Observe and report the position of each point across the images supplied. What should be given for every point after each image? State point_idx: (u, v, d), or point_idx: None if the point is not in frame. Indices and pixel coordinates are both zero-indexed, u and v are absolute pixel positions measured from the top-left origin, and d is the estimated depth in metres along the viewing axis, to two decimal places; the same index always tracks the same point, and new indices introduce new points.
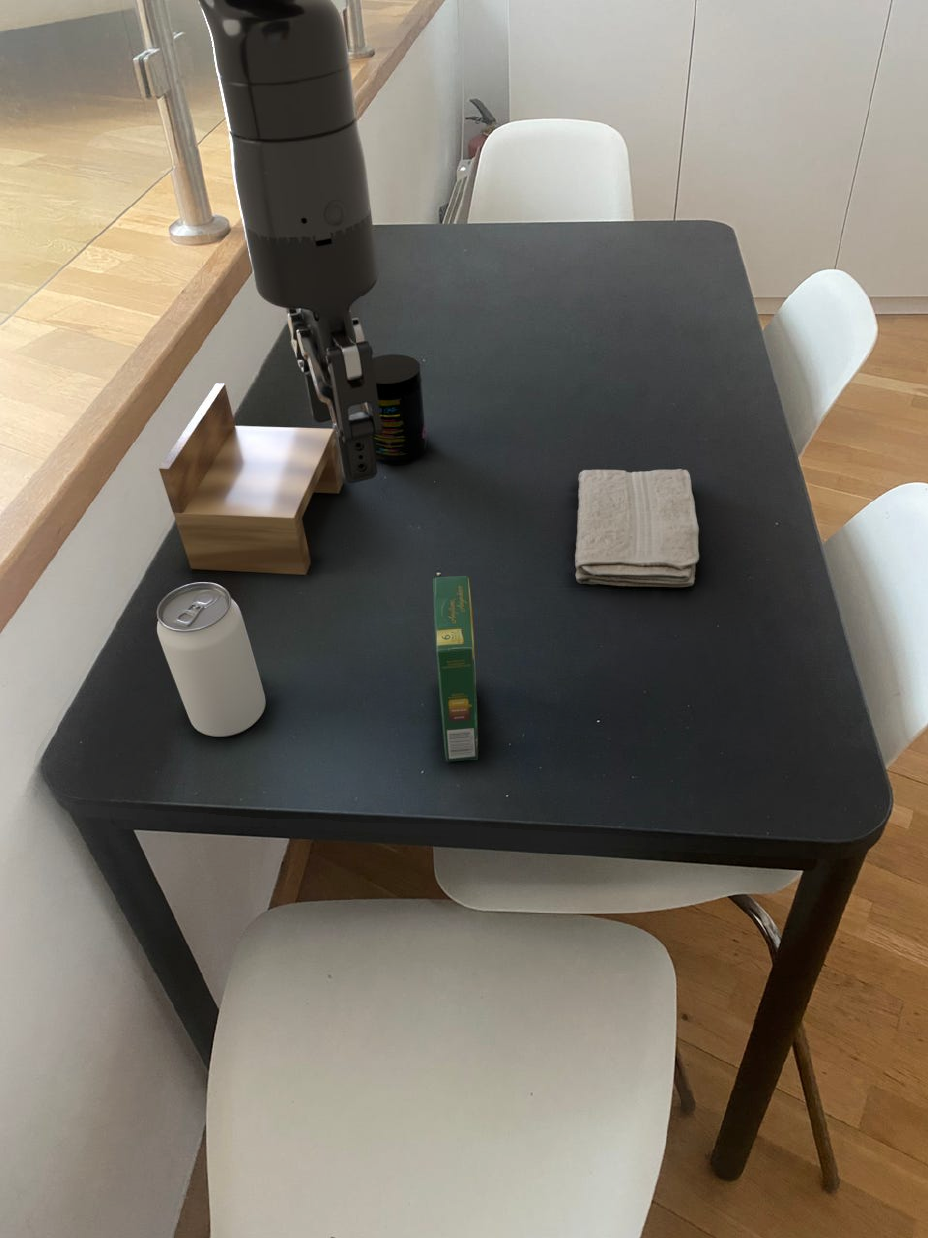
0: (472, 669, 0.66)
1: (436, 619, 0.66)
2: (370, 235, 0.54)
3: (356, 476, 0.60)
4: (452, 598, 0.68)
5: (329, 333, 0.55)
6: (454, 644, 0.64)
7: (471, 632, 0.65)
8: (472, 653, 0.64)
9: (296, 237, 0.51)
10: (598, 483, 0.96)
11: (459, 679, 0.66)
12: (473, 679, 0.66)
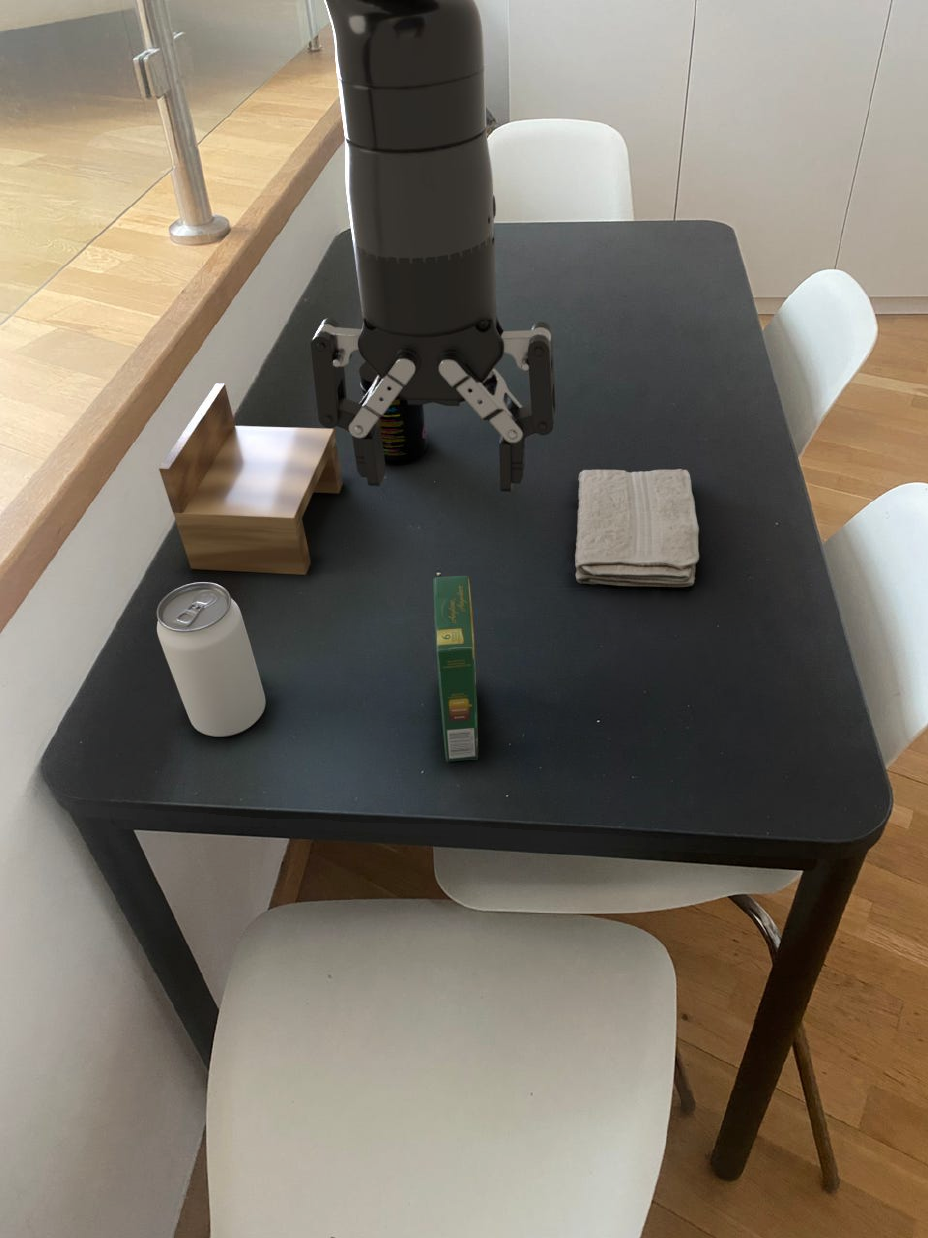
0: (472, 669, 0.66)
1: (436, 619, 0.66)
2: None
3: (521, 478, 0.58)
4: (453, 598, 0.68)
5: (500, 336, 0.51)
6: (455, 644, 0.64)
7: (471, 632, 0.65)
8: (472, 653, 0.64)
9: (484, 241, 0.47)
10: (598, 483, 0.96)
11: (459, 679, 0.66)
12: (473, 679, 0.66)
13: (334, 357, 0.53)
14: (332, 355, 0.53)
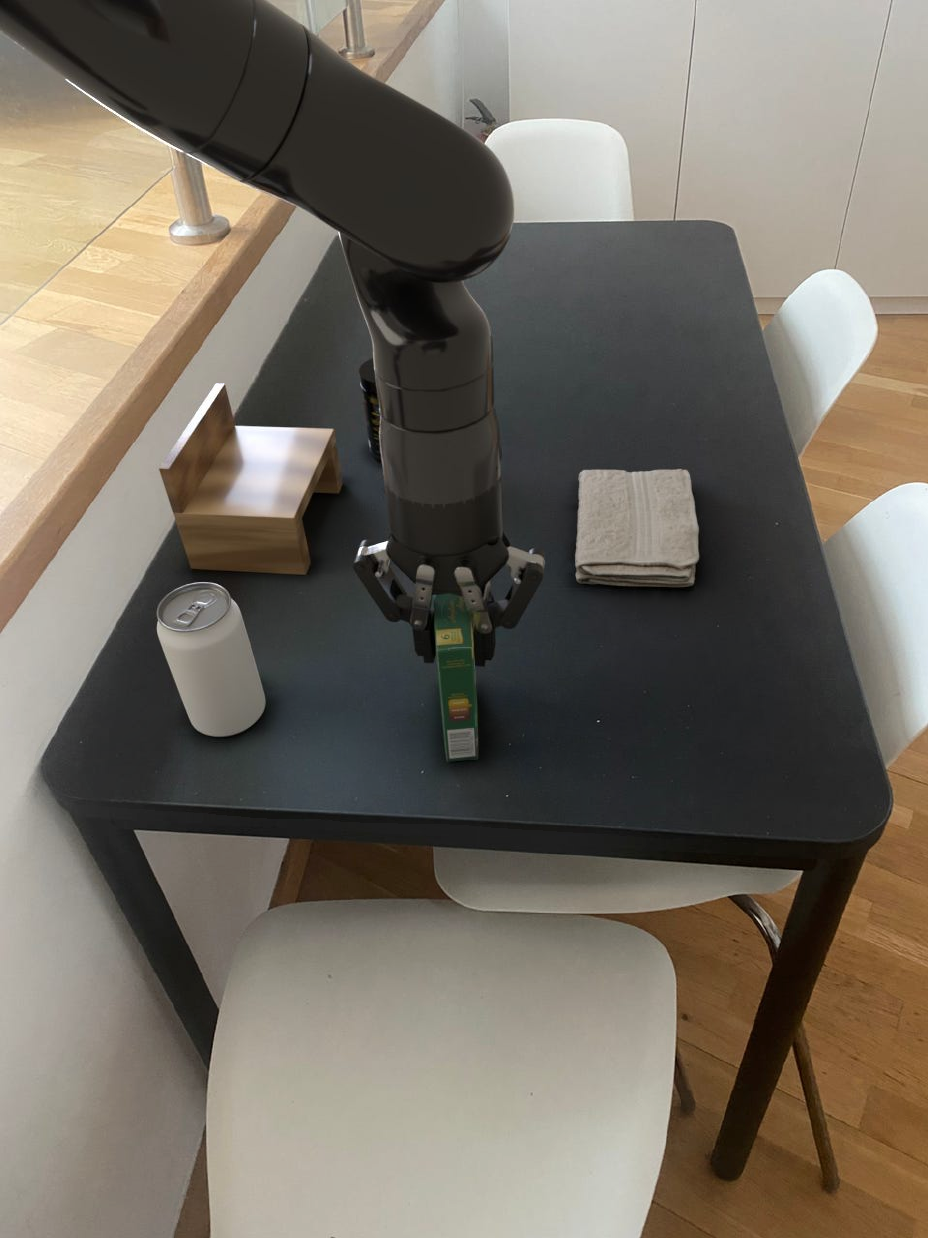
0: (472, 669, 0.66)
1: (436, 619, 0.66)
2: None
3: (492, 656, 0.69)
4: (452, 598, 0.68)
5: (508, 553, 0.62)
6: (454, 644, 0.64)
7: (471, 632, 0.65)
8: (472, 653, 0.64)
9: (493, 485, 0.57)
10: (598, 482, 0.96)
11: (459, 679, 0.66)
12: (473, 679, 0.66)
13: (375, 571, 0.64)
14: (372, 570, 0.64)
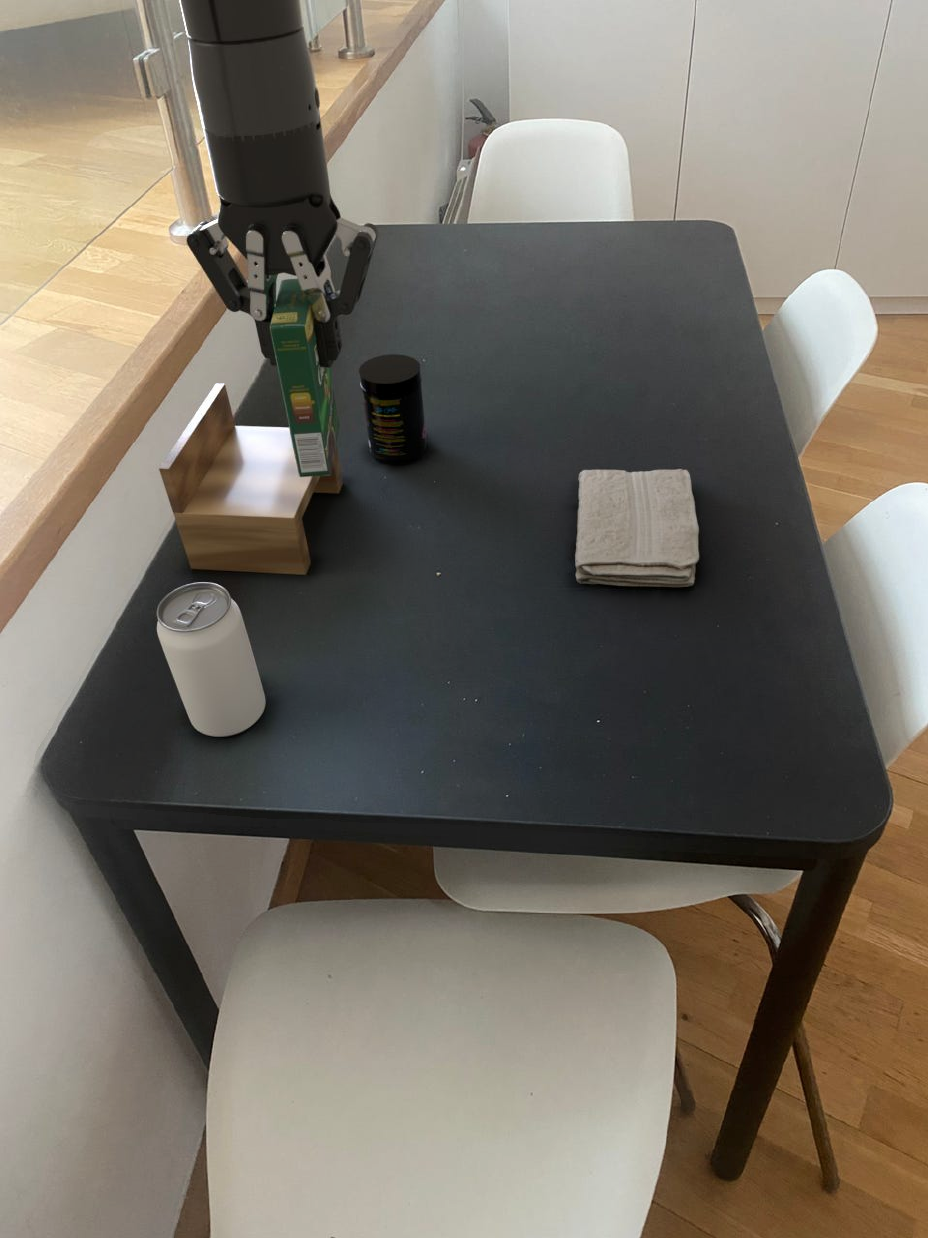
0: (308, 353, 0.66)
1: (275, 307, 0.67)
2: None
3: (337, 355, 0.69)
4: (295, 292, 0.68)
5: (336, 219, 0.62)
6: (288, 322, 0.65)
7: (307, 315, 0.66)
8: (305, 332, 0.65)
9: (306, 124, 0.58)
10: (598, 482, 0.96)
11: (297, 366, 0.67)
12: (311, 367, 0.67)
13: (210, 247, 0.65)
14: (206, 246, 0.64)
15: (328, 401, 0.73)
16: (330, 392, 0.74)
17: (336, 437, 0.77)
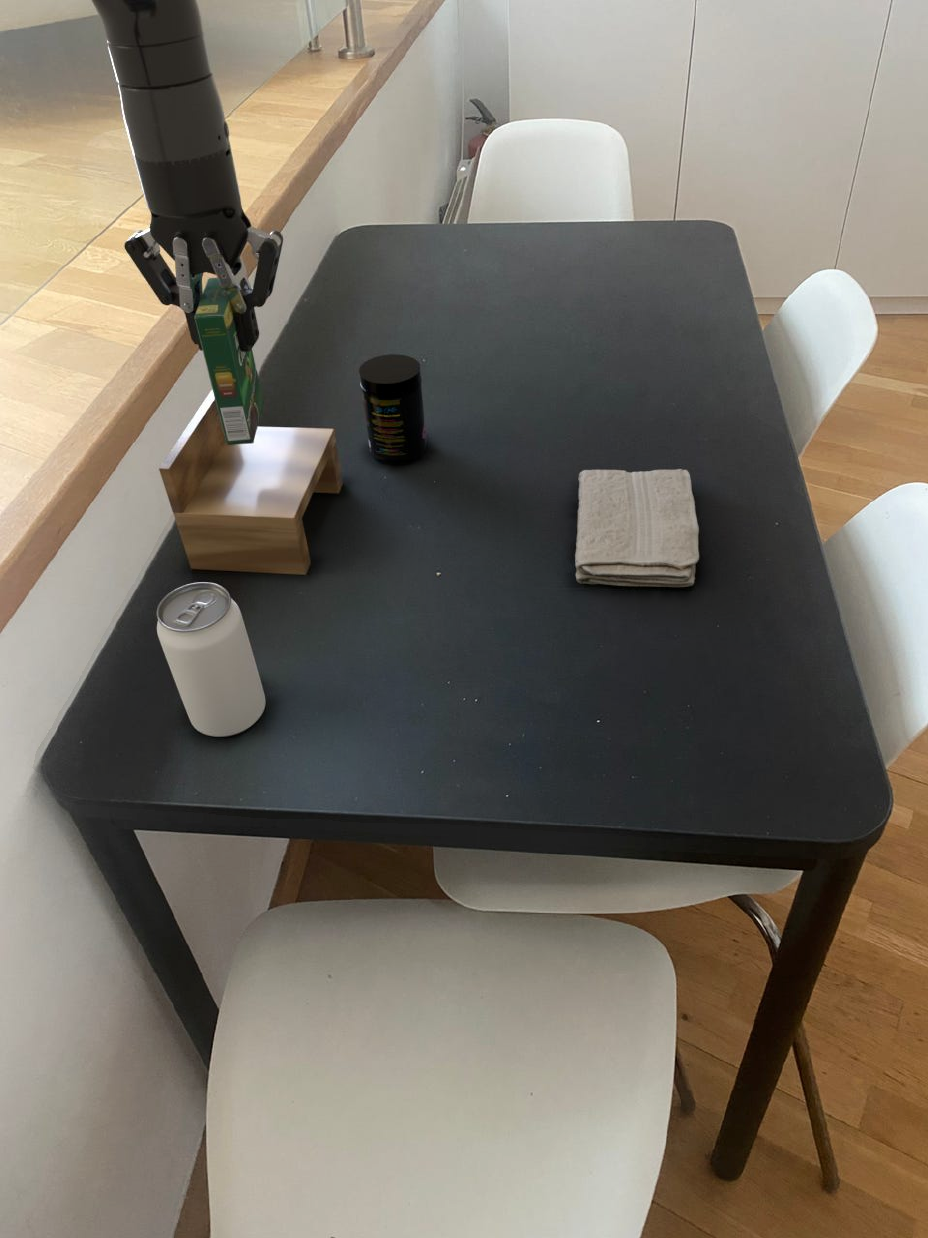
0: (228, 339, 0.79)
1: (200, 300, 0.80)
2: None
3: (255, 341, 0.83)
4: (218, 288, 0.81)
5: (246, 228, 0.76)
6: (209, 312, 0.78)
7: (226, 307, 0.79)
8: (224, 321, 0.78)
9: (217, 151, 0.71)
10: (598, 483, 0.96)
11: (219, 350, 0.80)
12: (231, 350, 0.80)
13: (144, 251, 0.78)
14: (141, 250, 0.78)
15: (250, 380, 0.86)
16: (253, 373, 0.87)
17: (260, 412, 0.90)
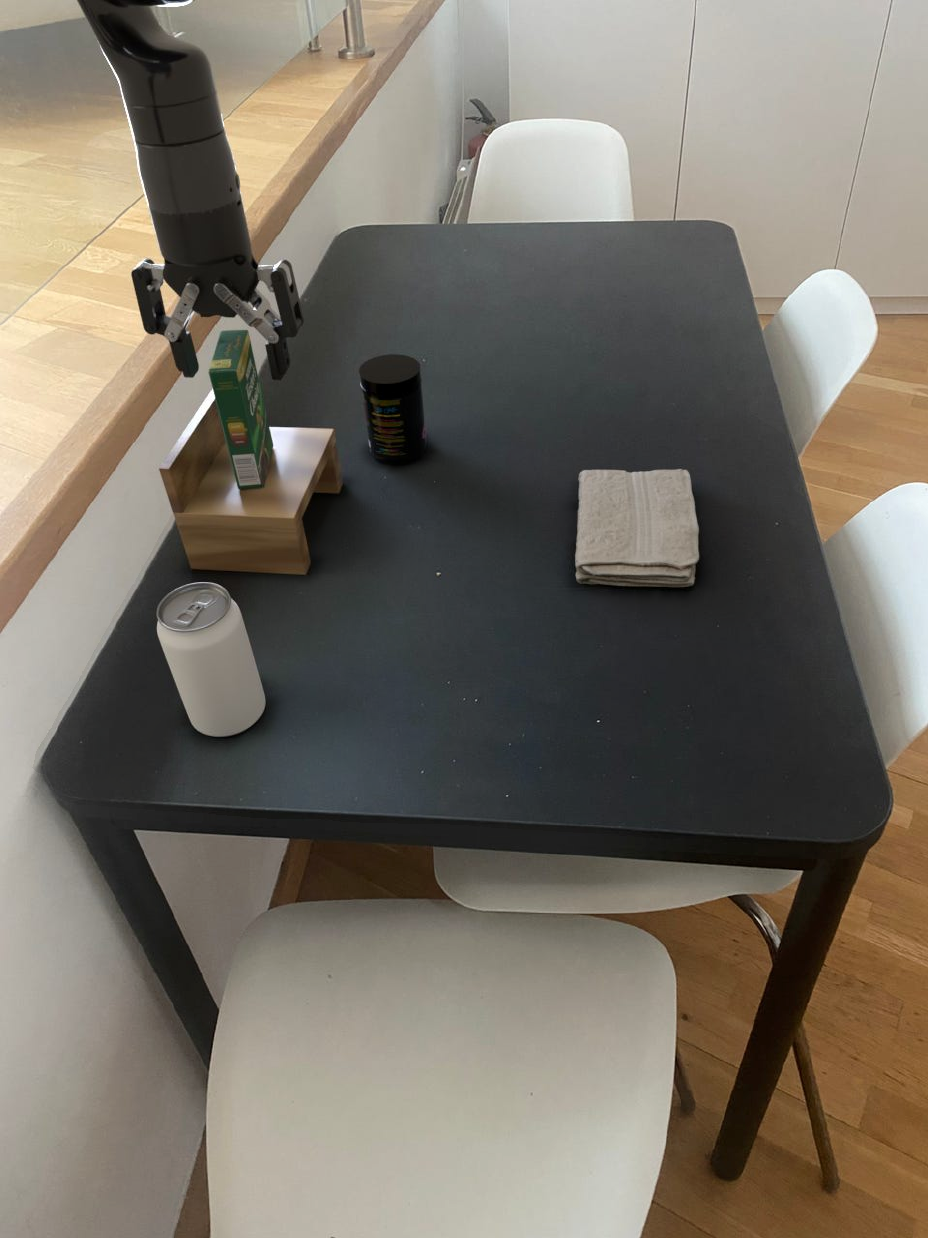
0: (240, 392, 0.83)
1: (214, 354, 0.83)
2: None
3: (286, 370, 0.84)
4: (230, 342, 0.85)
5: (253, 268, 0.78)
6: (223, 367, 0.81)
7: (239, 361, 0.82)
8: (237, 375, 0.82)
9: (229, 203, 0.74)
10: (598, 483, 0.96)
11: (232, 402, 0.83)
12: (243, 402, 0.84)
13: (148, 283, 0.80)
14: (146, 282, 0.80)
15: (261, 427, 0.90)
16: (263, 420, 0.91)
17: (270, 456, 0.93)
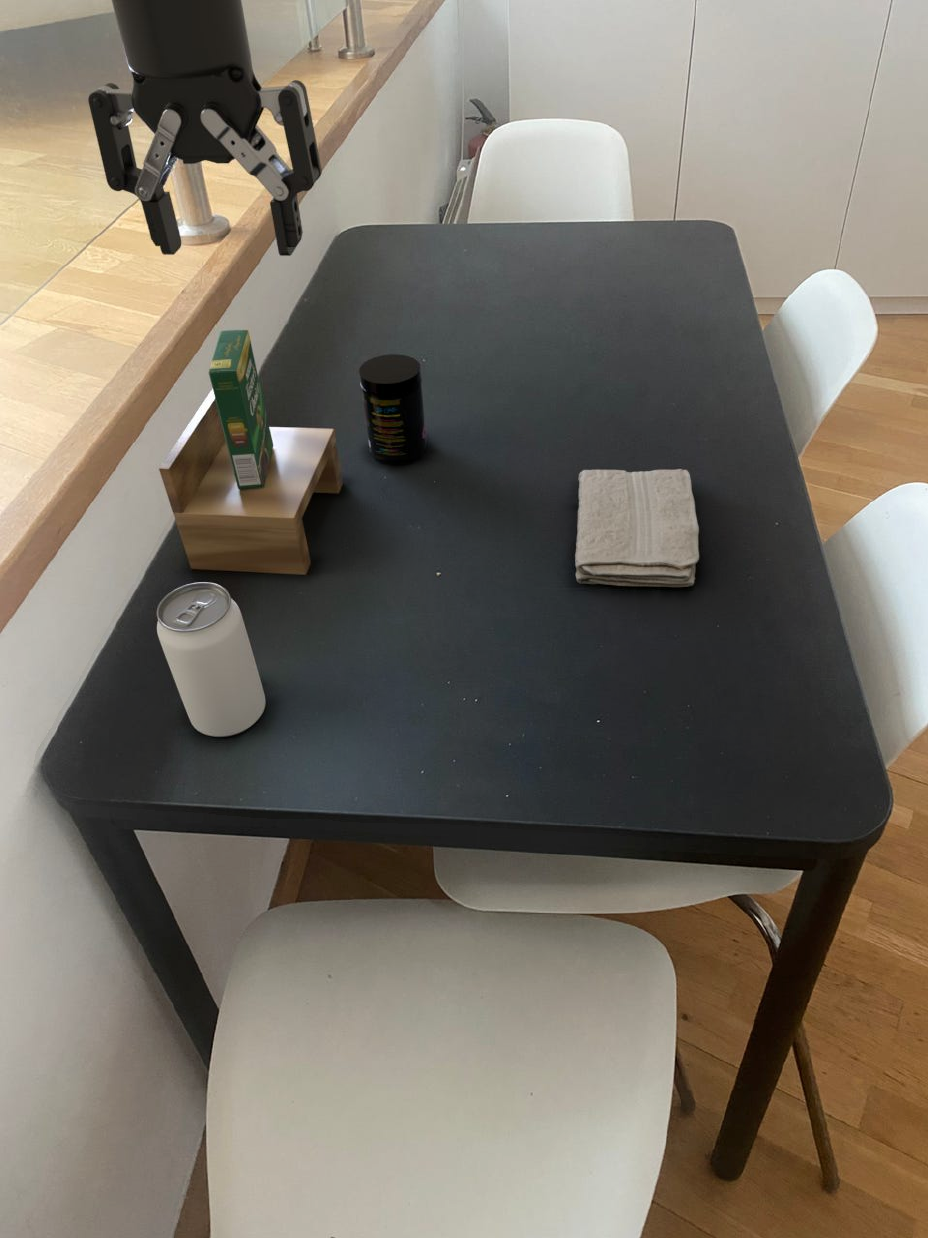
0: (240, 392, 0.83)
1: (214, 354, 0.83)
2: None
3: (297, 242, 0.64)
4: (231, 342, 0.85)
5: (254, 89, 0.57)
6: (223, 367, 0.81)
7: (239, 361, 0.82)
8: (237, 375, 0.82)
9: None
10: (598, 482, 0.96)
11: (232, 402, 0.83)
12: (243, 402, 0.84)
13: (112, 115, 0.59)
14: (109, 112, 0.59)
15: (261, 428, 0.90)
16: (263, 420, 0.91)
17: (270, 456, 0.93)
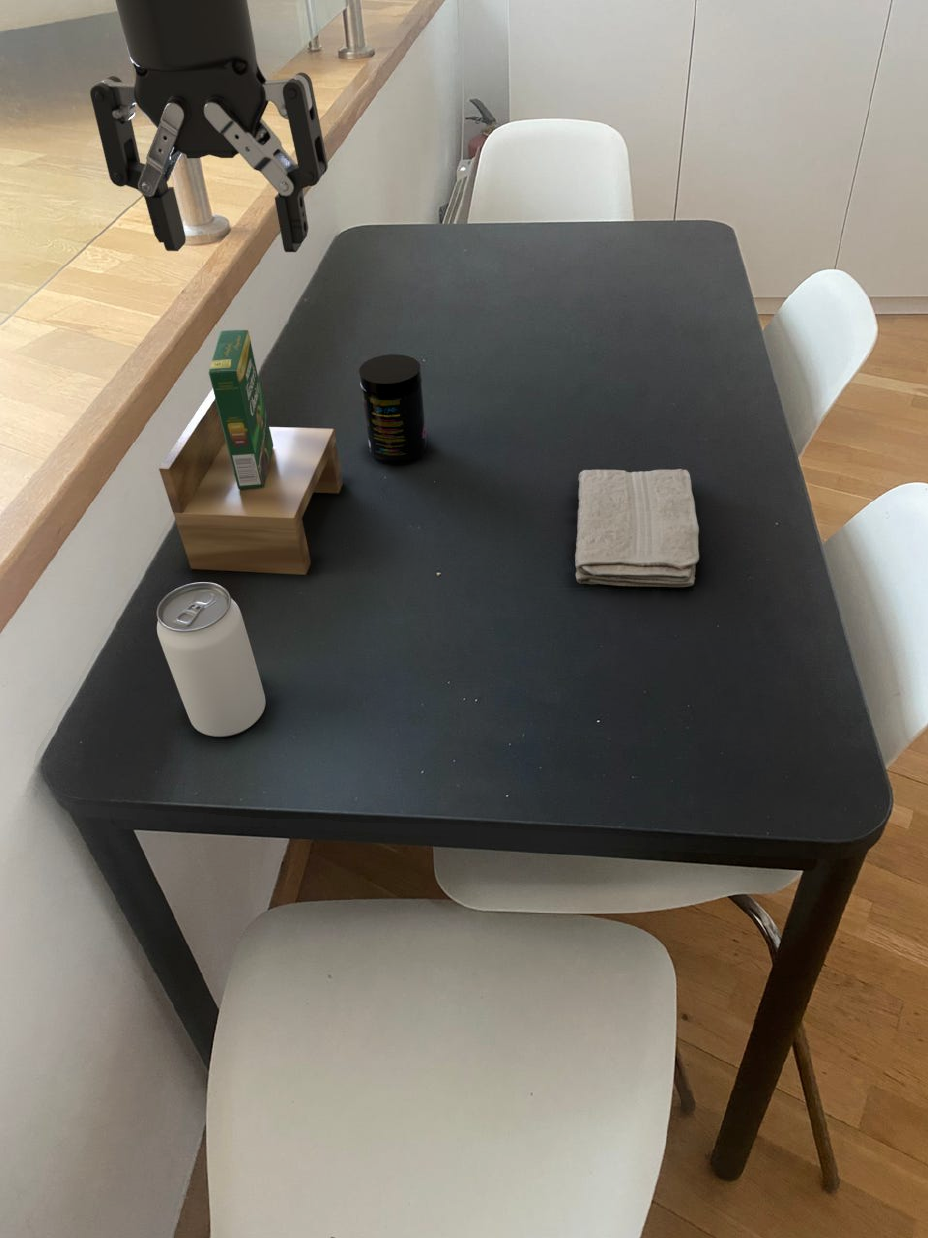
0: (240, 392, 0.83)
1: (214, 354, 0.83)
2: None
3: (303, 238, 0.62)
4: (231, 342, 0.85)
5: (259, 81, 0.56)
6: (223, 367, 0.81)
7: (239, 361, 0.82)
8: (237, 375, 0.82)
9: None
10: (598, 483, 0.96)
11: (232, 402, 0.83)
12: (243, 402, 0.84)
13: (114, 109, 0.58)
14: (111, 106, 0.58)
15: (261, 428, 0.90)
16: (263, 420, 0.91)
17: (270, 456, 0.93)
